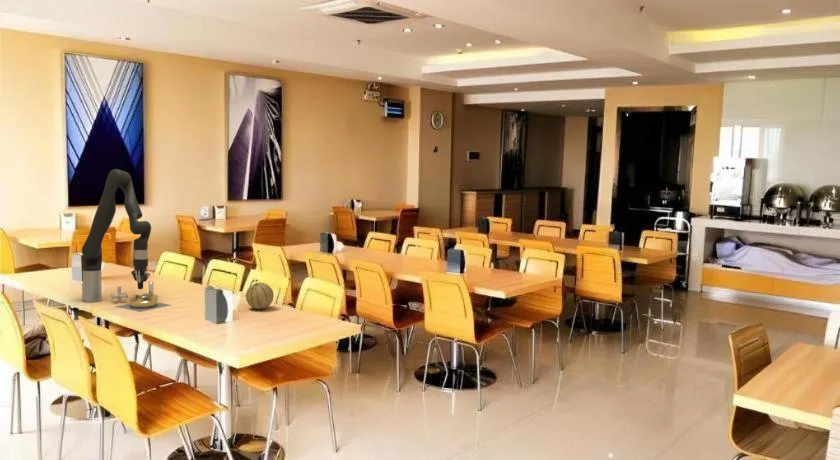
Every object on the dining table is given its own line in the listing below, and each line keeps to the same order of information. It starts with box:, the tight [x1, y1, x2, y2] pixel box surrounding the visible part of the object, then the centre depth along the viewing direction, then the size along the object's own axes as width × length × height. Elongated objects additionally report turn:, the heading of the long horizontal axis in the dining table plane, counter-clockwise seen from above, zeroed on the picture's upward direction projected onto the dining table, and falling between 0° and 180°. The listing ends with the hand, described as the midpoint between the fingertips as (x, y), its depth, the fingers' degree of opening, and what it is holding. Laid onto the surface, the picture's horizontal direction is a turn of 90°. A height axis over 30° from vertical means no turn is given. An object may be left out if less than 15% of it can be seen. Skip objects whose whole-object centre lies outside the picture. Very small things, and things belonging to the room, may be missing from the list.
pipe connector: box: [110, 285, 129, 303], centre depth 355 cm, size 10×10×10 cm
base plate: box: [114, 301, 172, 313], centre depth 349 cm, size 20×20×2 cm
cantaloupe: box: [245, 282, 275, 310], centre depth 358 cm, size 15×15×15 cm
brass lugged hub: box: [128, 280, 159, 308], centre depth 349 cm, size 14×14×12 cm
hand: (140, 289), depth 357 cm, fingers closed
